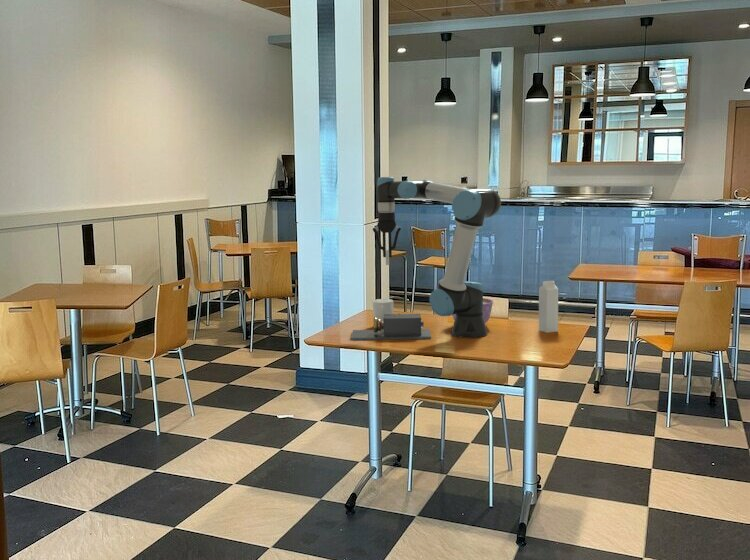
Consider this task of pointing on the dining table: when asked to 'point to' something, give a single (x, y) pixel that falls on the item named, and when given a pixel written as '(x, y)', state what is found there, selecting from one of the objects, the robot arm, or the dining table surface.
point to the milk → (548, 307)
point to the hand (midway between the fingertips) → (387, 264)
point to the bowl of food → (484, 309)
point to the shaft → (380, 324)
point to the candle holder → (382, 307)
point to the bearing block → (395, 329)
